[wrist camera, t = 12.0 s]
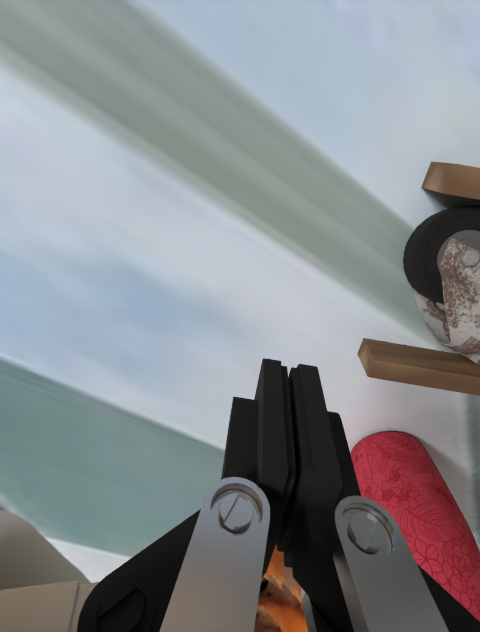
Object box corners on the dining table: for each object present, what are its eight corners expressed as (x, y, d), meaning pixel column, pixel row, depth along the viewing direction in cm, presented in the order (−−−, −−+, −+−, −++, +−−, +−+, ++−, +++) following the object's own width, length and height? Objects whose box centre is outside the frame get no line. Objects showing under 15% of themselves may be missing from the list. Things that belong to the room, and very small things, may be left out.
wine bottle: (419, 479, 44) (657, 995, 17) (343, 479, 45) (457, 967, 18) (431, 425, 39) (778, 1005, 13) (347, 426, 40) (505, 967, 14)
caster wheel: (426, 194, 30) (523, 243, 30) (361, 302, 33) (451, 347, 33) (466, 181, 24) (590, 243, 24) (382, 316, 27) (493, 372, 27)
